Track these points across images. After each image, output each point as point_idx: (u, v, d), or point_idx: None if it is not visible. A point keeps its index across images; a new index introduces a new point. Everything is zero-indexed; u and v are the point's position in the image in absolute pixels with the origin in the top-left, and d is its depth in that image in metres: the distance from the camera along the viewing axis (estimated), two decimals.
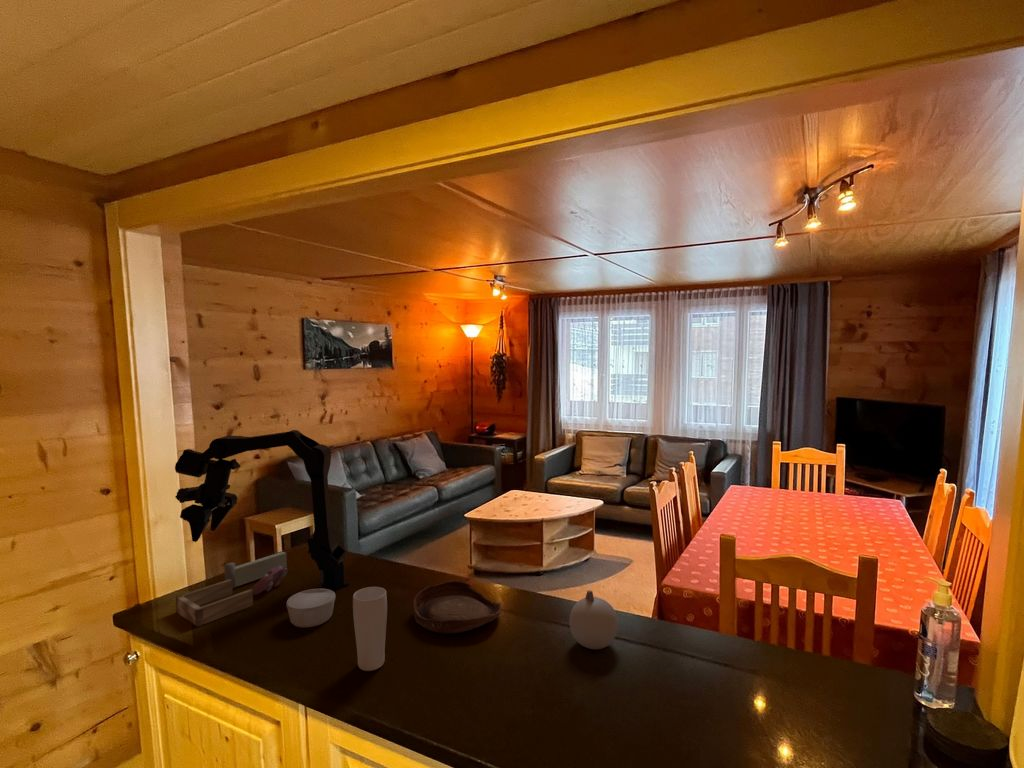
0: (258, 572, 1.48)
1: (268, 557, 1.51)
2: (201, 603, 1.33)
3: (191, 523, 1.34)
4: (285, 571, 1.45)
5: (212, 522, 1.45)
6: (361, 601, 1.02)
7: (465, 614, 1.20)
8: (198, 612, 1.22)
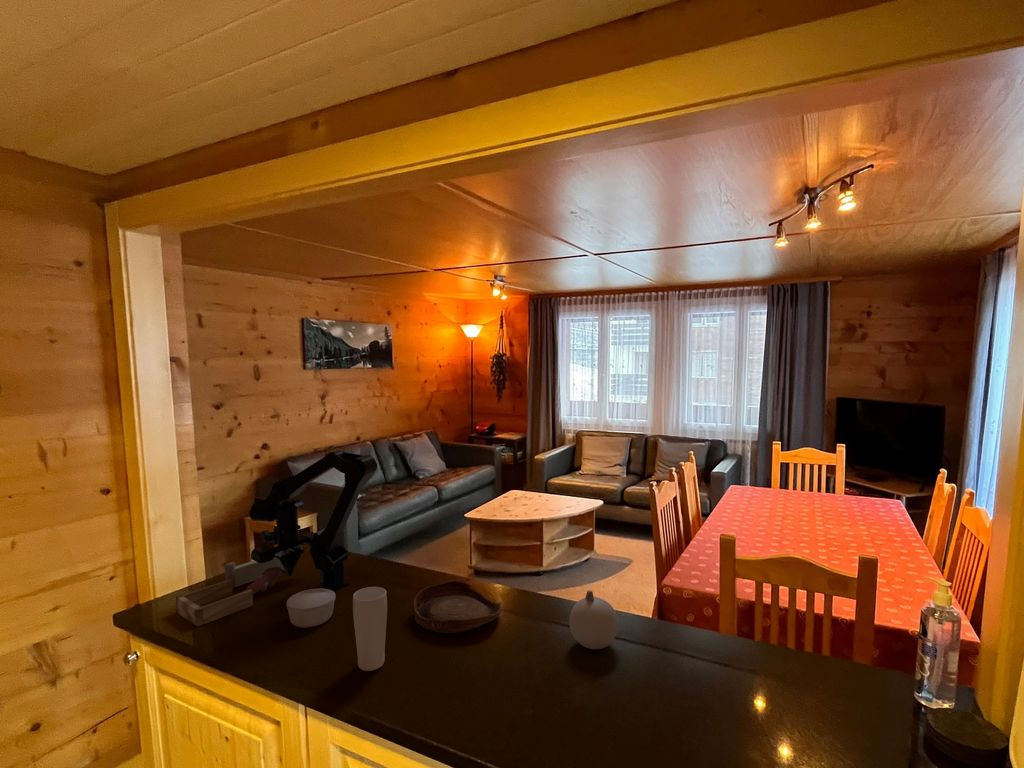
0: (258, 572, 1.48)
1: None
2: (201, 603, 1.33)
3: (280, 559, 1.46)
4: (280, 571, 1.44)
5: None
6: (361, 601, 1.02)
7: (465, 614, 1.20)
8: (198, 612, 1.22)
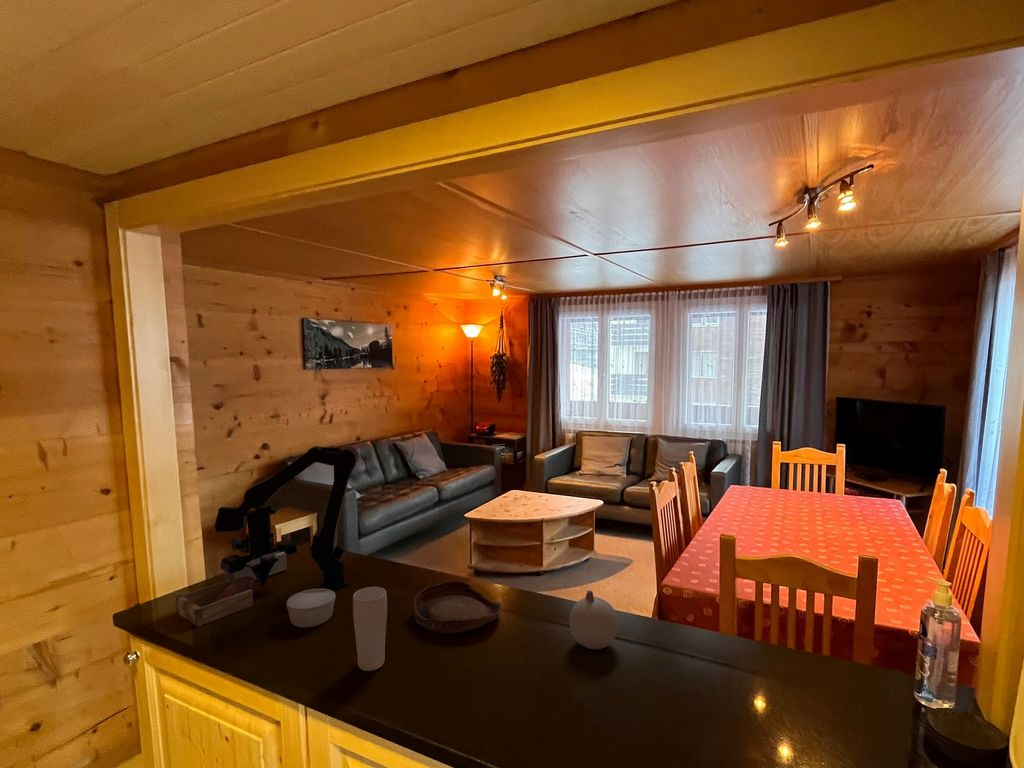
0: None
1: None
2: (201, 603, 1.33)
3: None
4: (252, 581, 1.38)
5: None
6: (361, 601, 1.02)
7: (465, 614, 1.20)
8: (198, 612, 1.22)
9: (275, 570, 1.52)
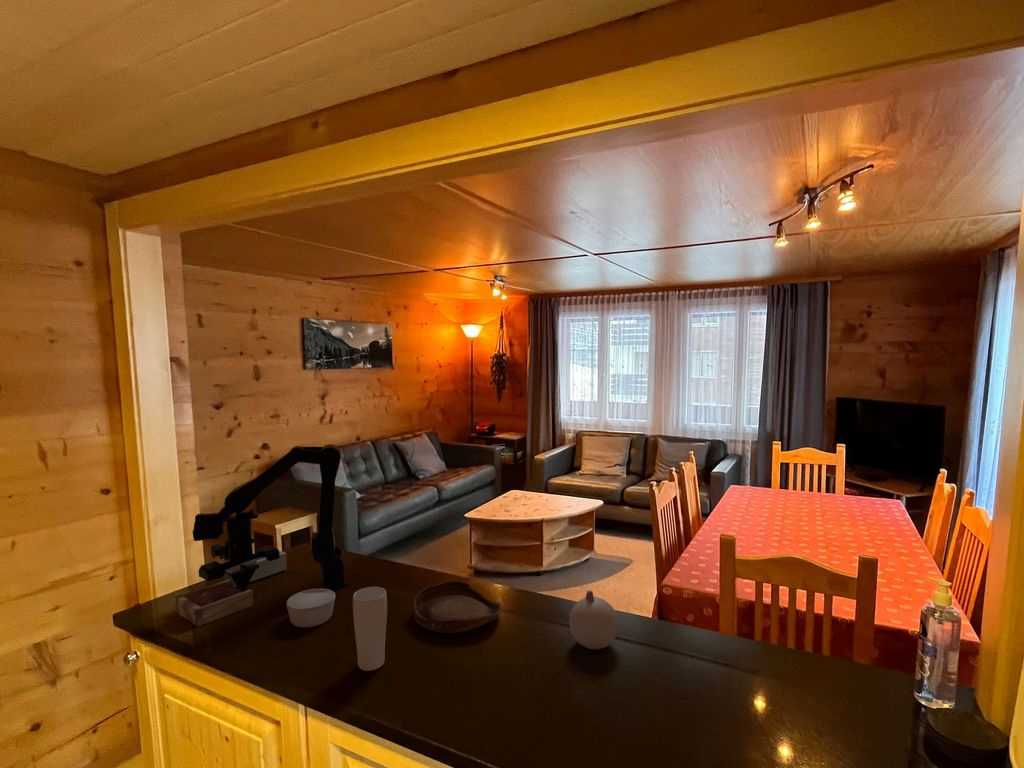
0: (258, 572, 1.48)
1: None
2: None
3: (232, 575, 1.35)
4: (231, 589, 1.33)
5: None
6: (361, 601, 1.02)
7: (465, 614, 1.20)
8: (198, 612, 1.22)
9: (275, 570, 1.52)
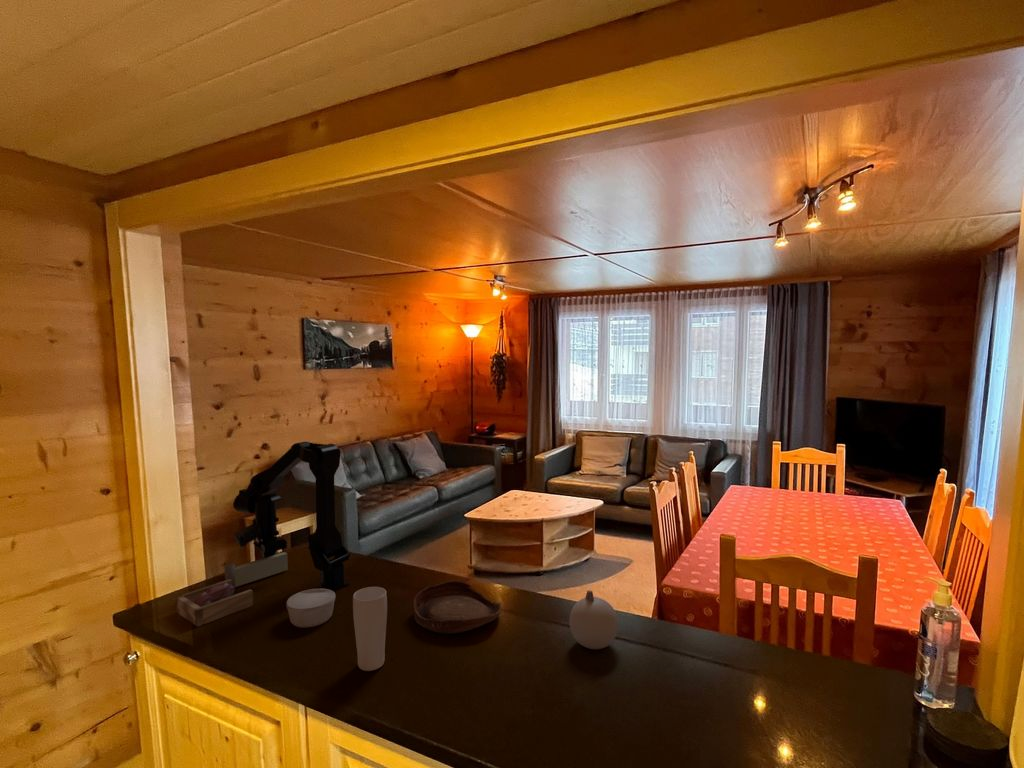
0: (258, 572, 1.47)
1: (269, 557, 1.51)
2: None
3: None
4: (230, 590, 1.33)
5: None
6: (361, 601, 1.02)
7: (465, 614, 1.20)
8: (198, 612, 1.22)
9: (276, 570, 1.51)
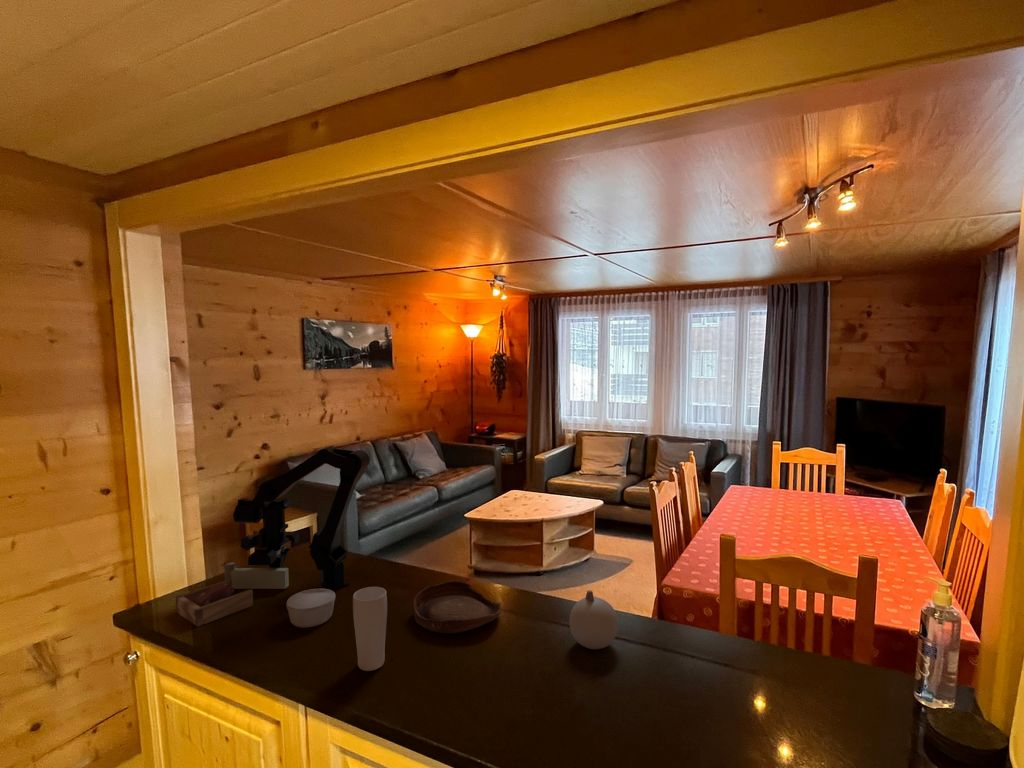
0: (254, 581, 1.41)
1: (268, 569, 1.42)
2: None
3: None
4: (230, 590, 1.33)
5: None
6: (361, 601, 1.02)
7: (465, 614, 1.20)
8: (198, 612, 1.22)
9: (272, 585, 1.41)
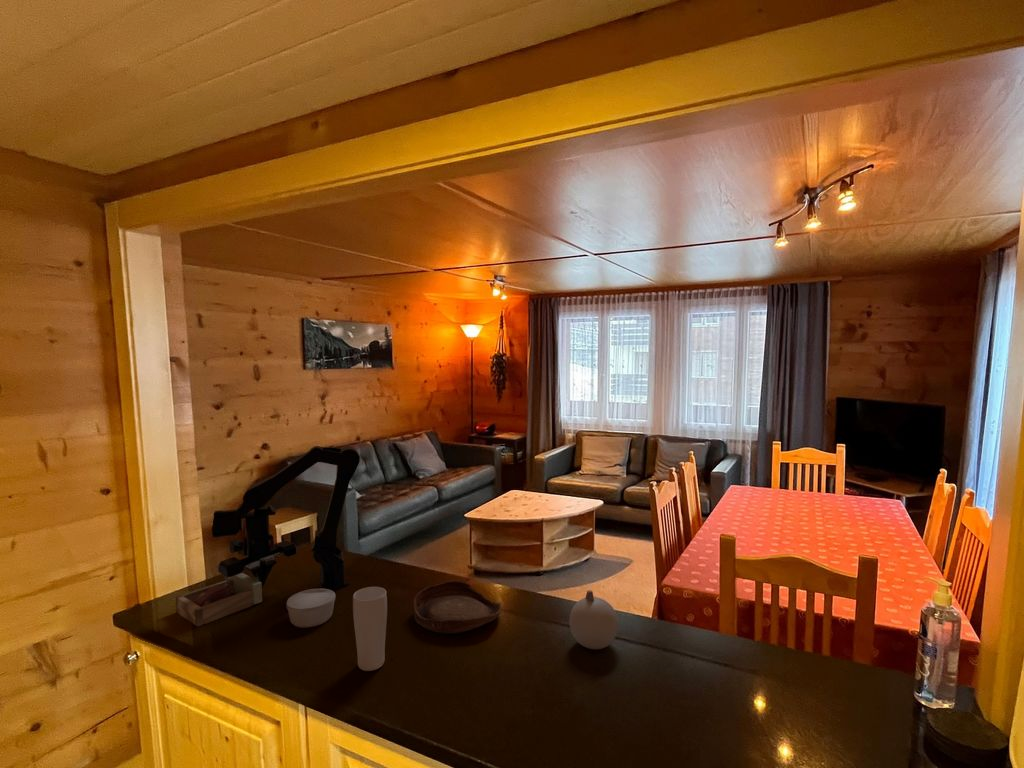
0: (238, 588, 1.37)
1: (248, 579, 1.35)
2: None
3: None
4: (229, 590, 1.33)
5: None
6: (361, 601, 1.02)
7: (465, 614, 1.20)
8: (198, 612, 1.22)
9: None
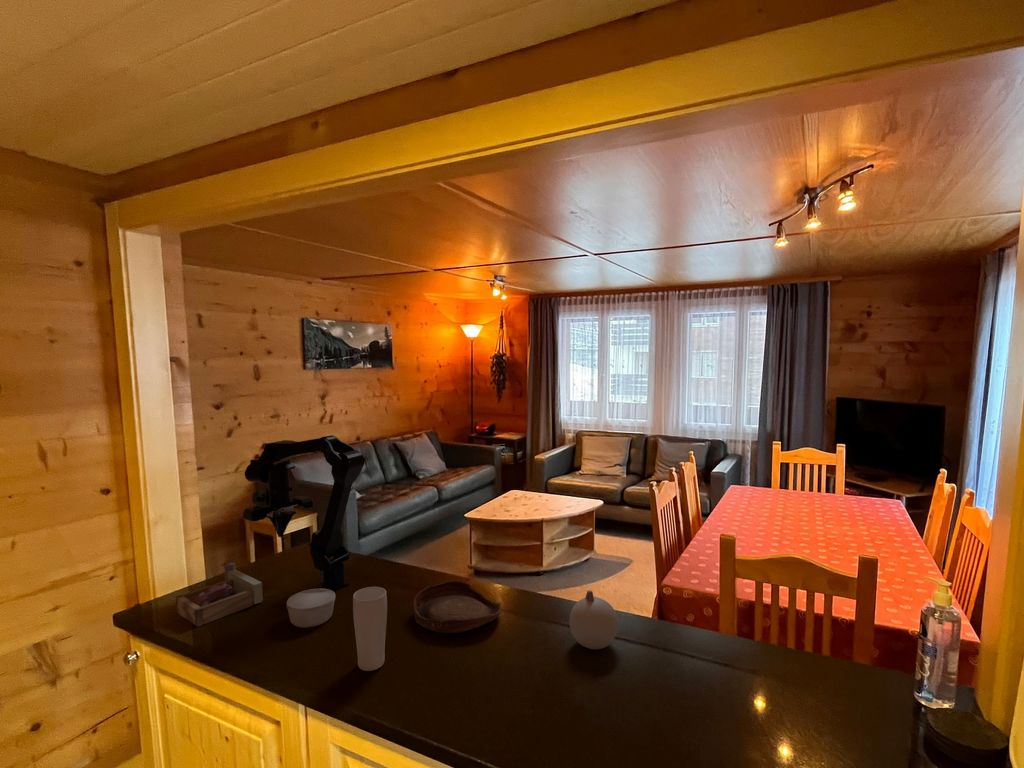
0: (239, 588, 1.37)
1: (248, 579, 1.35)
2: None
3: (271, 519, 1.49)
4: (228, 590, 1.33)
5: None
6: (361, 601, 1.02)
7: (465, 614, 1.20)
8: (198, 612, 1.22)
9: None
